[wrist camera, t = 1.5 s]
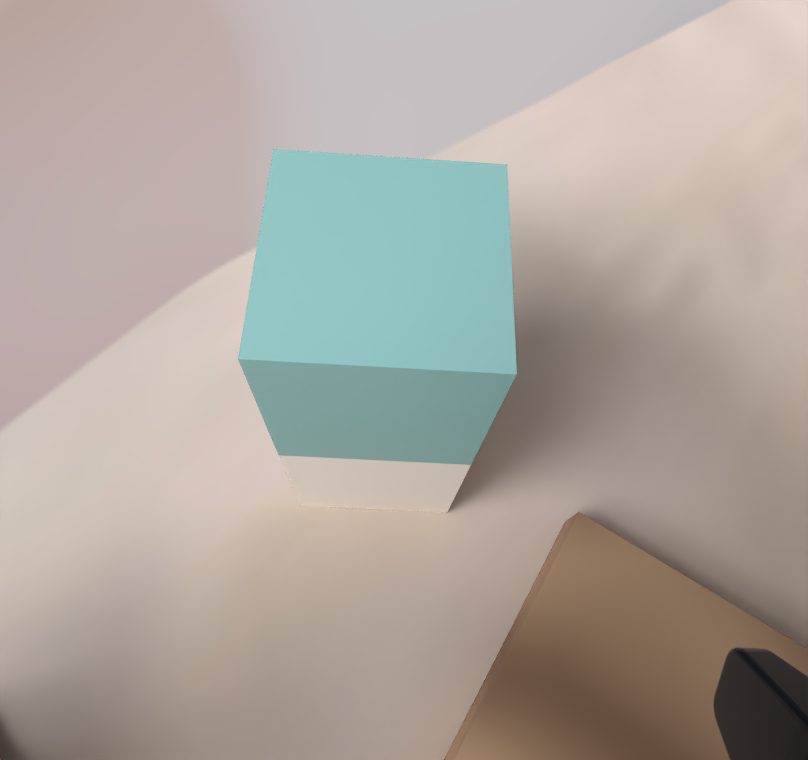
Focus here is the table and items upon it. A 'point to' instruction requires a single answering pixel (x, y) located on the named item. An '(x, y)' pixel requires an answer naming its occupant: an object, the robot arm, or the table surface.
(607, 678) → the board
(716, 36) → the table surface
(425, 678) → the table surface
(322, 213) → the block
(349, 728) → the table surface
